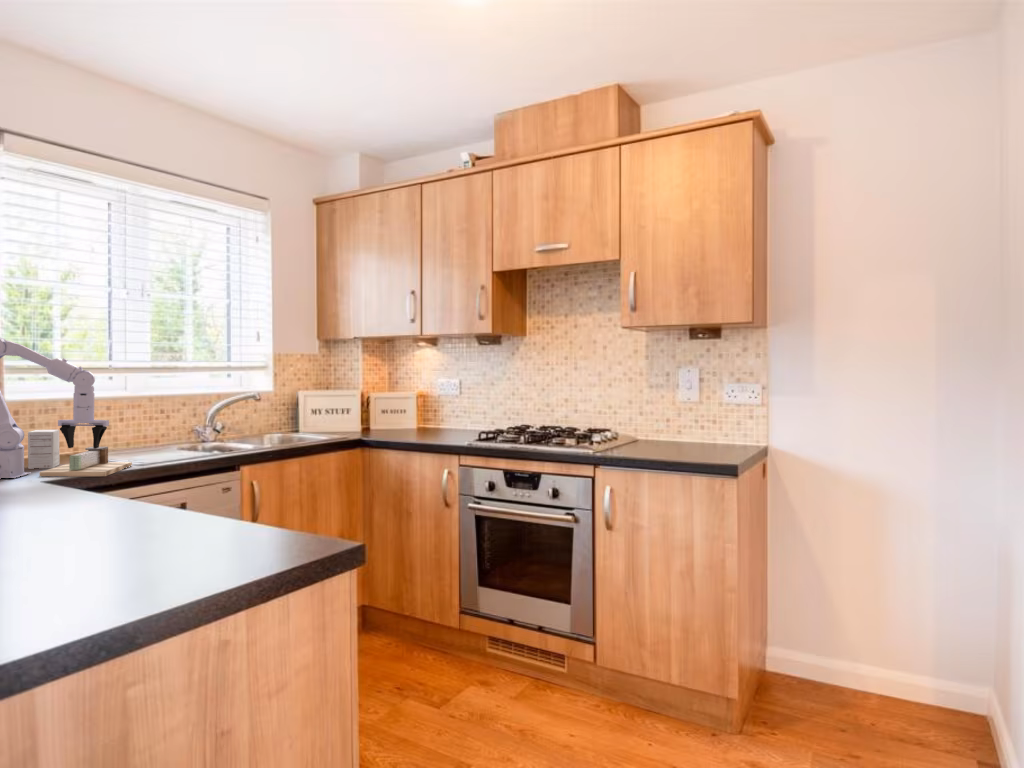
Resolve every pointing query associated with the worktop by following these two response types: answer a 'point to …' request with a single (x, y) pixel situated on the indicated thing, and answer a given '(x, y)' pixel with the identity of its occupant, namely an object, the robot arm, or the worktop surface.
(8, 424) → the robot arm
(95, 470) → the tong board
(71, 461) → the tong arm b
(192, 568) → the worktop surface
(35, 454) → the supplement box
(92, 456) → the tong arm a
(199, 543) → the worktop surface
